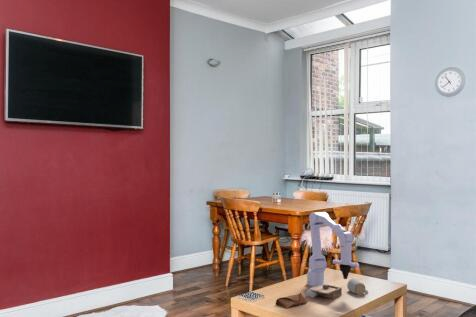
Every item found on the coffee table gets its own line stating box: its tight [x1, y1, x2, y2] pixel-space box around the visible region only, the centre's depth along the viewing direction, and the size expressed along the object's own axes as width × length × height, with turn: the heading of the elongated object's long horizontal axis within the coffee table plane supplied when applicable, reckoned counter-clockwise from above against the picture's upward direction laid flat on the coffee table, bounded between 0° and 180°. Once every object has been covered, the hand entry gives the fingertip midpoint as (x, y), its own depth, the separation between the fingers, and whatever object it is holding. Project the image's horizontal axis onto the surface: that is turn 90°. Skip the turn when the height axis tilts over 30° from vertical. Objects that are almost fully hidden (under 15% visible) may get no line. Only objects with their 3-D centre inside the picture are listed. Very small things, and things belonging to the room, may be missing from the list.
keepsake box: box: [318, 284, 343, 300], centre depth 239 cm, size 10×10×4 cm
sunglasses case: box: [275, 292, 310, 310], centre depth 225 cm, size 18×7×7 cm, turn 127°
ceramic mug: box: [347, 278, 369, 296], centre depth 244 cm, size 11×8×8 cm
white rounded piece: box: [305, 286, 319, 299], centre depth 236 cm, size 6×5×5 cm
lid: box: [311, 283, 337, 295], centre depth 233 cm, size 10×10×2 cm
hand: (345, 278), depth 236 cm, fingers closed
